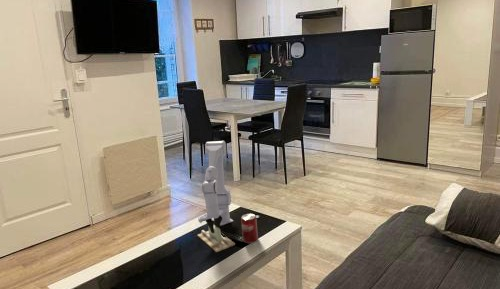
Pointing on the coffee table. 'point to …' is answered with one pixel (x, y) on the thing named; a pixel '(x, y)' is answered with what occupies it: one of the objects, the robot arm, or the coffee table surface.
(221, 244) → the door track
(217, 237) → the door panel
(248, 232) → the soda can
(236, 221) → the coffee table surface
